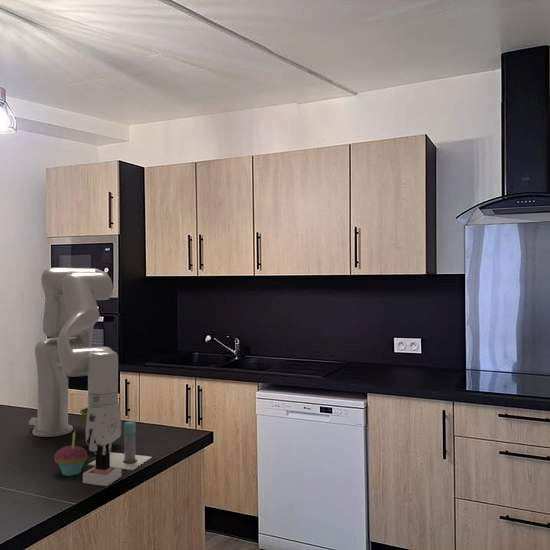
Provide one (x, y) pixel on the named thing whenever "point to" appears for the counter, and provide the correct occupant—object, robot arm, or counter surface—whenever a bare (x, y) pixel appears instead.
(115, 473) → the button housing
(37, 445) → the counter surface
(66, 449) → the cupcake
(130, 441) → the marker
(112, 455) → the paper
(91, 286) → the robot arm
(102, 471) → the button
